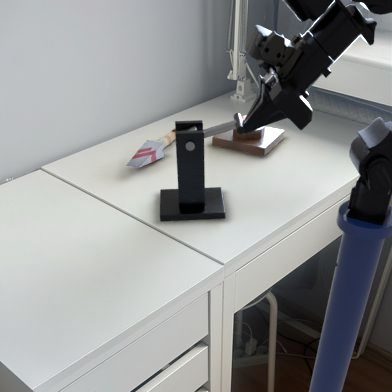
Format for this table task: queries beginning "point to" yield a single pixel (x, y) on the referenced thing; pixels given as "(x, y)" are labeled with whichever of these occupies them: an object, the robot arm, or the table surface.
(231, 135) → the button block
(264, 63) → the robot arm
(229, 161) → the table surface
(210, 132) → the lever
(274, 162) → the table surface
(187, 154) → the bracket
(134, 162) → the garden trowel
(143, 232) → the table surface
